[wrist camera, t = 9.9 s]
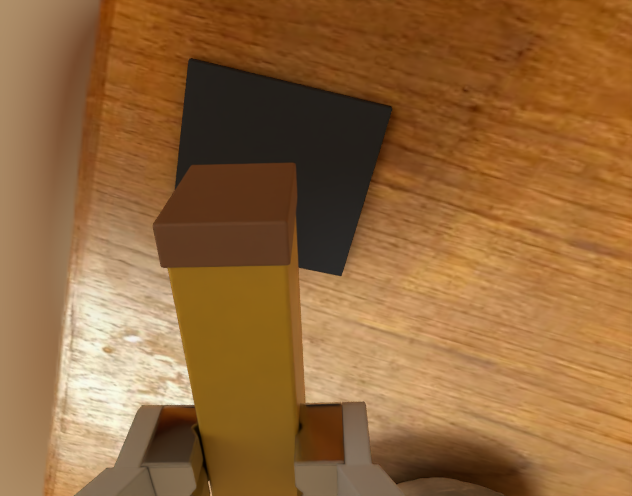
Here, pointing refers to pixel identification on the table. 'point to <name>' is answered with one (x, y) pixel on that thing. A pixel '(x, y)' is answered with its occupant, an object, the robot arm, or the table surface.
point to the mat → (288, 147)
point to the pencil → (239, 318)
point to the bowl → (444, 488)
